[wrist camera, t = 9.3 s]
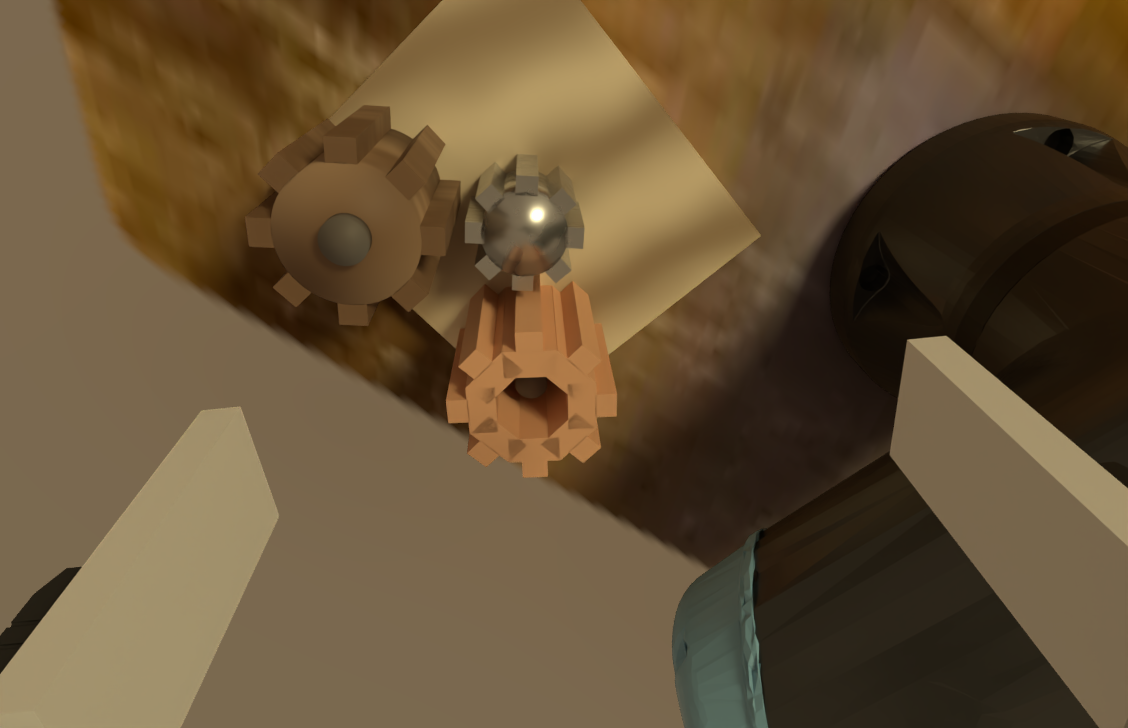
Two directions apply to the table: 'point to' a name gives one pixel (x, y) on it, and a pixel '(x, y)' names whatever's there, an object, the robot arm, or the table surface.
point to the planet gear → (531, 349)
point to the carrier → (558, 156)
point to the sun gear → (524, 223)
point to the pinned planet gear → (357, 214)
